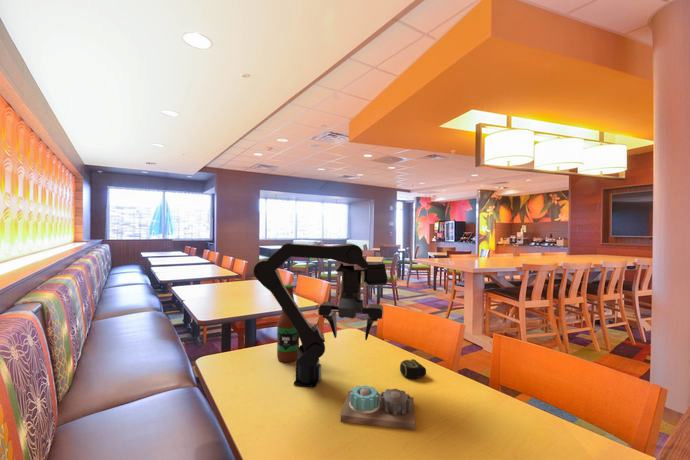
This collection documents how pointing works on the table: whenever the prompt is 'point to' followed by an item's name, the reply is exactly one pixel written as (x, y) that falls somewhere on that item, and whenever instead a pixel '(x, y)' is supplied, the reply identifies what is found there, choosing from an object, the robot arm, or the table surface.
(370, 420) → the gear board
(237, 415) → the table surface
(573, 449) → the table surface
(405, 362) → the tape measure
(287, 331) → the bottle
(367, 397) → the teal gear
